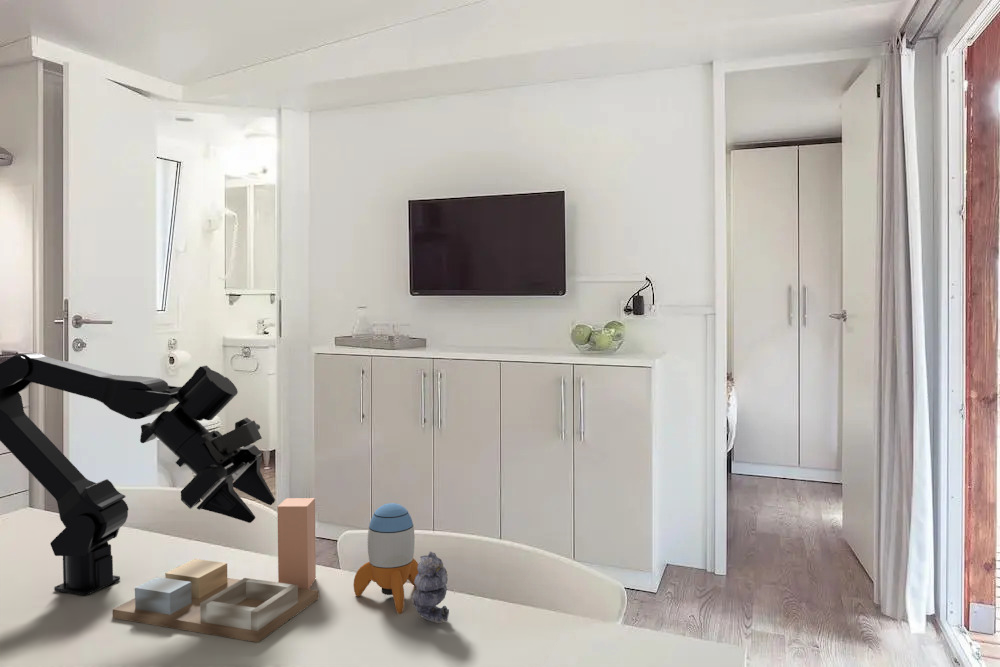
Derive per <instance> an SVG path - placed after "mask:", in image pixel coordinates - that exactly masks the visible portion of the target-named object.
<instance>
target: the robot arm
mask: <svg viewBox="0 0 1000 667" xmlns="http://www.w3.org/2000/svg"><path fill="white" fill-rule="evenodd" d="M33 383H34V384H38V385H41V386H44V387H49V388H53V389H55V390H56V389H57V390H60V391H64V392H66V393H71V394H75V395H79V396H82V397H86V398H88V399H92V400H96V401H98V402H100V403H102V404H103V405H104V406H106V408H108V409H109V410H111V411H112V412H115V413H117V414H119V415H120V416H124V418H125V417H126V418H128V419H131V420H140V419H144V418H146V417H150V416H153V415H157V414H159V415H157V417H156V418H154V420H153V421H151V422H148V423H144V424H141V425H140V429H141V433H140V436H139V437H140V439H139V441H140V443H141V444H144V443H148V442H150V441H153V440H155V439H156V438H157V439H158V440H159V441H160V442H161V443H162V444H164V446H166V447H167V449H168V450H169V451H170V452H172V454H174V455H175V457H177V458H178V459H177V460H176V461H175V464H176V465H177V466H178V467H180V468H182V467H183V466H186V467H187V468H188V469H189V470H190V471H192V473H194V474H195V476H194V477H193V478H192V479H191V481H189V482H188V483H187V484H186V485H185V486H184V488H182V490H181V491H180V501H181V502H182V503H183V504H185V506H186V507H187V508H188V509H190V510H191V509H193V508H195V507H196V509H197V510H198V511H200V510H204V511H209V512H212V513H216V514H219V515H222V516H227V517H229V518H233V519H235V520H239V521H242V522H245V523H248V524H251V523H252V522H253V521H254V520H255V519H256V515H255V514H254V513H253V512H252V510H251V509H250V508H249V507H248V505H247V504H246V502H244V500H243V499H242V498H241V496H240V495H239V494H238V493H237V492H236V491H235V489H236V490H238V491H239V492H240V491H241V492H242V493H244V494H246V495H247V496H250V497H252V498H253V499H256V500H258V501H260V502H262V503H265V504H266V505H269V506H272V505H273V504H274V503H275V501H276V498H275V497H274V495H273V493H272V491H271V490H270V487H269V485H268V484H267V481H266V480H265V478H264V477H263V474H262V473H261V465H262V463H261V462H262V460H263V458H262V456H261V455H262V454H263V451H262V450H260V449H259V448H258V447H257V446H256V445H255V444H254V443H256V442H257V441H259V440H262V439H263V438H262V436H261V434H260V431H259V430H260V429H261V426H260V424H258V423H256V420H251V419H250V418H248V417H244V418H243V419H240V420H238V421H236V422H235V423H234V428H233V430H230V431H228V432H226V433H224V434H222V433H221V432H220V431H218V430H215V429H214V430H212V431H209V430H208V429H207V428H206V427H205V426H204V425H203V424H202V423H201V422H202V421H203V420H205V421H212V420H213V419H214V418H215V417H216V416H217V415H218V414H219V413H220V412H221V411H222V410H223V409H224V408H225V407H226V406H227V405H228V404H229V403H230V402H231V401H232V400H234V398H235V396H237V395H238V392H239V391H238V388H237V387H236V386H235V383H233V381H232V380H230V378H228V376H224V375H222V373H221V374H220V372H217V371H215V370H213V369H212V368H210V367H209V366H208V365H201V366H199V367H198V368H197V369H196V370H195V371H194V373H193V375H192V376H191V377H190V378H189V379H188V381H186V382H185V383H184V384H183V385H182V386H176V385H169V384H168V382H167V381H165V380H164V379H162V378H160V377H153V376H152V377H151V376H141V375H140V376H139V375H138V376H137V375H120V374H118V375H117V374H112V373H109V372H105V371H101V370H98V369H93V368H89V367H86V366H81V365H78V364H75V363H71V362H67V361H65V360H64V361H63V360H60V359H57V358H53V357H50V356H46V355H44V354H42V353H40V352H26V353H18V354H17V353H16V354H14V355H12V357H10V358H8V359H6V360H5V361H3V362H0V442H1V444H2V445H3V446H4V447H6V449H7V450H8V451H9V452H10V453H11V454H12V455H13V456H14V457H15V458H16V459H17V460H18V461H19V463H20V464H22V466H23V467H24V468H25V469H26V470H27V471H28V472H29V473H30V475H32V476H33V477H34V478H35V479H36V480H37V482H39V484H40V485H41V486H42V487H43V488H44V489H45V490H46V491H47V492H48V493H49V494H50V495H51V496H52V497H53V498H54V500H55V501H56V503H57V509H58V514H59V520H60V521H61V523H62V524H63V526H64V527H65V528H63V529H62V530H61V532H60V533H59V534H58V535H56V536H55V537H54V538H53V540H52V541H50V547H51V550H52V552H53V555H54V556H55V557H62V571H63V572H62V575H63V576H62V577H63V581H62V582H63V583H60V584H58V585H56V586H54V587H53V590H54V591H56V592H62V593H67V594H73V595H80V596H87V595H90V594H92V593H94V592H96V591H98V590H101V589H102V588H105V587H107V586H109V585H112V584H114V583H115V582H118V581H120V580H121V576H119V575H115V574H114V566H113V565H114V564H113V563H114V562H113V561H114V560H113V558H114V557H113V555H112V545H111V544H109V541H111V540H113V539H116V538H117V537H118V534H119V531H120V528H121V527H123V526H124V525H125V523H126V522H127V520H128V514H129V506H128V503H127V502H126V500H124V499H125V498H126V497H127V496H126V495H125V494H122V493H121V492H120V491H118V490H117V488H116V487H115V486H114V484H113V483H112V481H110V480H109V478H108V479H107V478H106V479H104V480H101V481H98V482H97V483H96V482H94V481H91V480H90V479H88V478H86V477H85V475H83V473H81V471H80V470H79V469H78V468H77V467H76V466H75V465H74V464H73V463H72V461H70V459H68V458H67V456H66V455H65V454H64V453H62V451H61V450H60V449H59V448H58V447H57V446H56V445H55V444H54V443H53V442H52V441H51V440H50V438H48V436H47V435H45V433H44V432H43V431H42V430H41V429H40V428H39V427H38V426H37V425H36V423H34V421H32V420H31V418H30V417H28V415H27V414H26V413H25V408H24V404H23V398H22V395H21V393H20V392H22V391H24V390H25V389H27V388H29V386H30V385H32V384H33ZM173 404H176V405H175V406H174V407H173V408H172V409H171V410H167V408H168V407H169V406H170V405H173ZM200 421H201V422H200ZM197 505H198V506H197Z"/></svg>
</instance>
